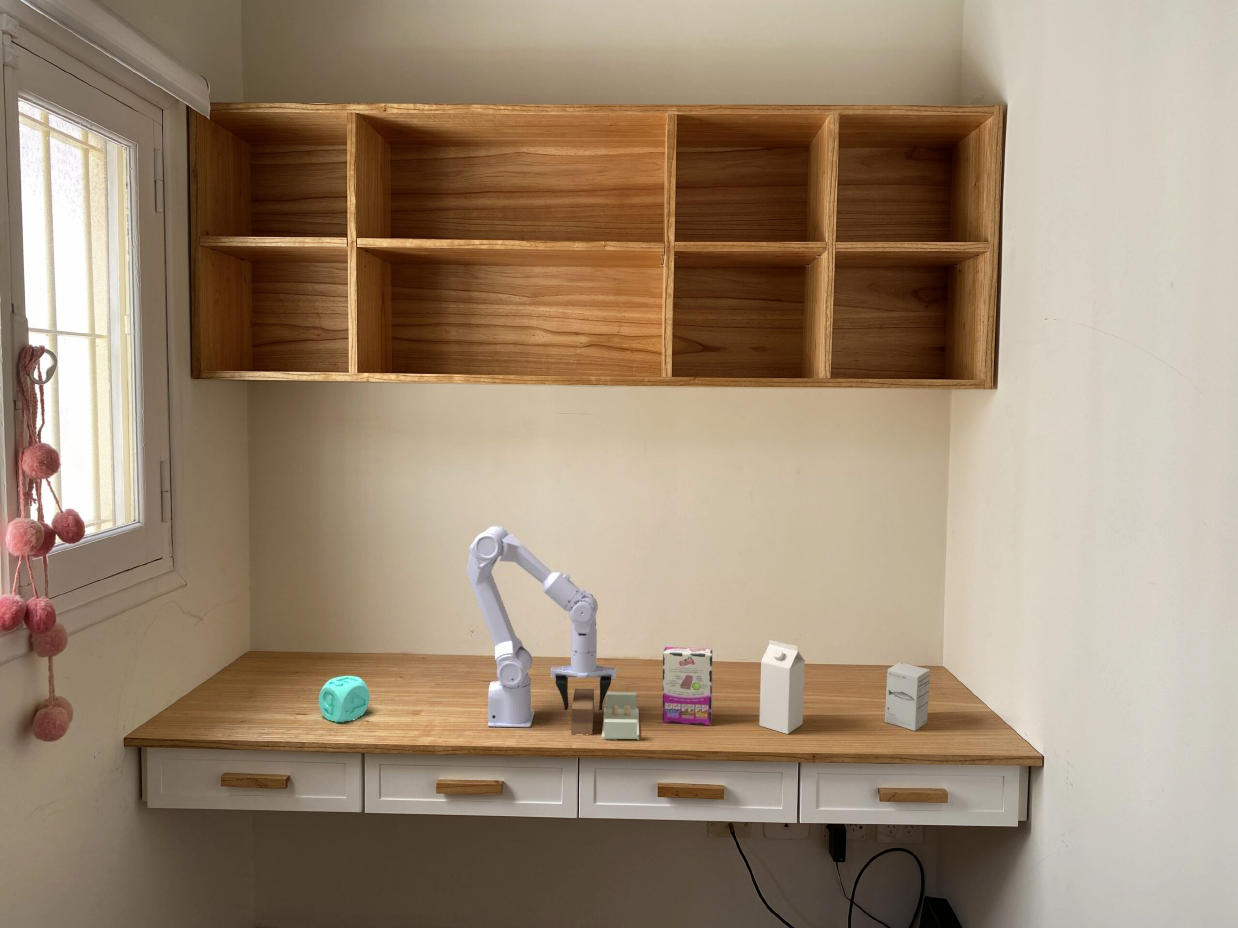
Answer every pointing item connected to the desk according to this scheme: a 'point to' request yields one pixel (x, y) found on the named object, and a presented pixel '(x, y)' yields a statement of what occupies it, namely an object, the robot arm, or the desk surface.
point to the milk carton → (781, 687)
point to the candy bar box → (687, 686)
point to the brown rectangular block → (582, 711)
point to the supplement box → (907, 696)
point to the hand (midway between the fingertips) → (583, 708)
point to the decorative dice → (344, 698)
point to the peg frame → (621, 716)
